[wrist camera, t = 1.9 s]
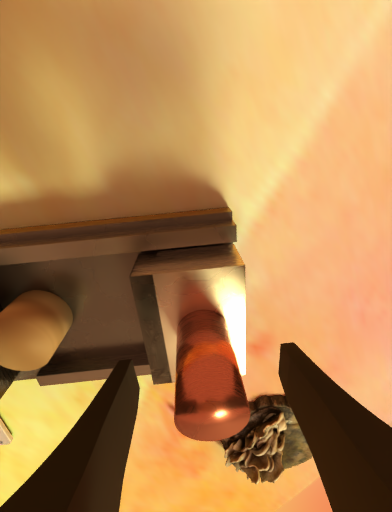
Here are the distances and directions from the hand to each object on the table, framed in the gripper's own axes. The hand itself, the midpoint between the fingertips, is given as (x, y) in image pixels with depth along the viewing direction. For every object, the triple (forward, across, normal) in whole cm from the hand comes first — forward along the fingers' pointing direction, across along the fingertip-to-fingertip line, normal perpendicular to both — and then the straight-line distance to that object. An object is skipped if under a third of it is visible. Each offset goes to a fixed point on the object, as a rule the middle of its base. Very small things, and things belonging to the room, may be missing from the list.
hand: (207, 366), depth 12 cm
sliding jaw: (+6, +1, 0) cm, 6 cm away
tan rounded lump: (+6, +11, 0) cm, 13 cm away
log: (+8, -6, +19) cm, 21 cm away
